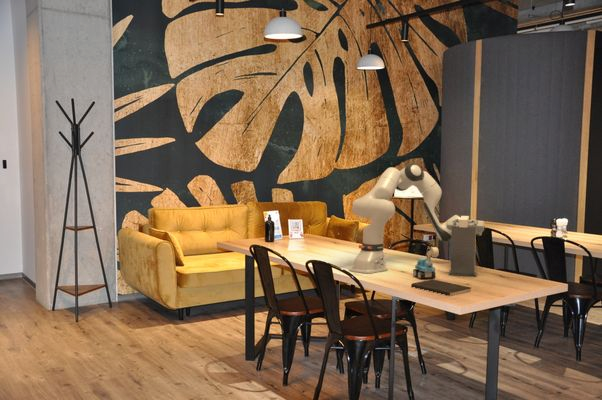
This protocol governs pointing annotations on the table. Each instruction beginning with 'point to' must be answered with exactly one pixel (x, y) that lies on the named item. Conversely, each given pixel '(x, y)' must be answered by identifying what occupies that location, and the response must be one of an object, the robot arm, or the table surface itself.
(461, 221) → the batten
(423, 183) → the robot arm
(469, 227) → the stand
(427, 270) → the toy excavator
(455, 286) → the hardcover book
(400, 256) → the table surface
